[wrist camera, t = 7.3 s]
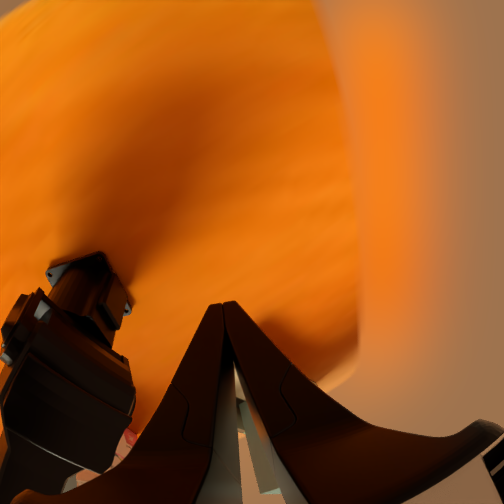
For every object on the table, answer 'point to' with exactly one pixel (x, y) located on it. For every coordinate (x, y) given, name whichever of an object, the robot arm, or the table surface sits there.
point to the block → (258, 455)
